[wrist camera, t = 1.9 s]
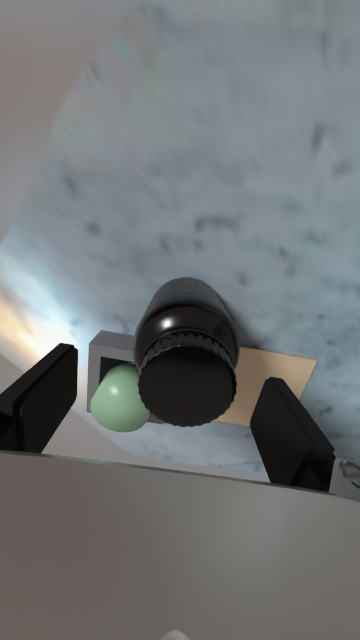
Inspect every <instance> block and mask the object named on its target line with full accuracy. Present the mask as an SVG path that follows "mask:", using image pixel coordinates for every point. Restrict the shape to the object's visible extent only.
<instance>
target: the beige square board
mask: <svg viewBox="0 0 360 640" xmlns="http://www.w3.org/2000/svg"><path fill="white" fill-rule="evenodd" d="M316 363H317V360H316V359H310V358H305V357H299V356H293V355H288V354H282V353H276V352H271V351H265V350H260V349H254V348H248V347H243V346H241V348H240V358H239V361H238V364H237V367H236V369H235V373H236V380H237V387H236V391H237V393H236V395H235V396H234V401H233V402H232V403H231V405H230V408H229V409H228V410H226V412H225V413H224V414H223V415H221V416H219V418H218V419H216V420H214V421H220V422H226V423H232V424H238V425H244V426H250V419H251V416H252V414H253V411H254V408H255V406H256V403H257V400H258V398H259V395H260V392H261V390H262V387H263V384H264V382H265V380H266V379H269V377H276V378H282V379H283V380H284V381H285V382H286V384H287V385H288V386H289V388H290V389H291V390H292V392H293V393H294V394H295V396H296V397H297V398H298V400H299V399H300V397H301V395H302V393H303V391H304V389H305V386H306V384H307V382H308V380H309V378H310V376H311V374H312V372H313V370H314V367H315V365H316Z"/></svg>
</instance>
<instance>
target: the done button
mask: <svg viewBox="0 0 360 640" xmlns="http://www.w3.org/2000/svg"><path fill="white" fill-rule="evenodd" d="M138 374H139V370H138V368H137V366H136V365H133V364H120V365H117V366H115V367H113V368H111V369H110V370H109V371H108V372H107V374H106V375H105V377H104V379H103V381H102V382H101V384H100V386H99V387H98V389H97V391H96V393H95V394H94V396H93V398H92V400H91V405H90V406H91V412H92V415H93V416H94V418H95V419H96V421H97V422H98V423H100V424H101V425H102V426H104V427H105V428H107V429H110V430H112V431H116V432H131V431H135V430H137V429H139V428H141V427H142V426H143V425H144V424H145V423H146V422H147V420H148V418H149V414H150V412H149V410H148V409H146V408H145V406H144V403H143V402H142V401H141V396H140V395H139V393H138V389H139V388H138V385H137V382H138V379H139V377H138Z"/></svg>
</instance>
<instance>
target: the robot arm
mask: <svg viewBox="0 0 360 640" xmlns="http://www.w3.org/2000/svg"><path fill="white" fill-rule="evenodd" d="M77 368H78V350H77V349H76V348H75V347H74V345H70V344H64V343H60V344H59V345H57V346H56V347H55V348H54V349H53V350H52V351H50V352H49V353H48V354H47V355H46V356H45V357H43V358H42V359H41V360H40V361H39V362H38V363H36V364H35V365H34V366H33V367H32V368H31V369H29V370H28V371H27V372H26V373H25V374H23V375H22V376H21V377H20V378H19V379H18V380H16V381H15V382H14V383H13V384H12V385H11V386H9V388H7V389H6V390H5V391H4V392H3V393H1V394H0V640H360V463H358V462H356V461H354V460H352V459H350V458H346V457H337V458H336V457H335V455H334V454H333V452H334V450H335V449H334V448H333V446H332V445H331V443H330V442H329V441H328V439H327V438H326V437H325V435H324V434H323V433H322V431H321V430H320V428H319V427H318V426H317V424H316V423H315V422H314V420H313V419H312V418H311V416H310V415H309V413H308V412H307V411H306V409H305V408H304V407H303V405H302V404H301V403H300V401H299V400H298V398H297V397H296V396H295V394H294V393H293V392H292V390H291V389H290V388H289V386H288V385H287V384H286V382H285V381H284V380H283V379H282V378H276V377H269V379H266V380H265V382H264V384H263V387H262V390H261V392H260V395H259V398H258V400H257V403H256V406H255V408H254V411H253V414H252V416H251V419H250V428H251V431H252V434H253V436H254V439H255V442H256V444H257V447H258V450H259V453H260V455H261V458H262V461H263V463H264V466H265V469H266V471H267V474H268V477H269V479H270V482H271V483H268V482H261V481H253V480H245V479H239V478H231V477H224V476H216V475H209V474H202V473H193V472H186V471H179V470H171V469H164V468H156V467H148V466H140V465H133V464H124V463H116V462H109V461H101V460H93V459H84V458H77V457H68V456H58V455H49V454H41V452H42V451H43V449H44V448H45V446H46V445H47V443H48V442H49V440H50V438H51V437H52V435H53V434H54V432H55V431H56V429H57V428H58V426H59V425H60V423H61V422H62V420H63V419H64V417H65V416H66V414H67V413H68V411H69V410H70V408H71V407H72V405H73V403H74V402H75V400H76V396H77Z"/></svg>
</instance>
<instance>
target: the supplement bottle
mask: <svg viewBox="0 0 360 640" xmlns="http://www.w3.org/2000/svg"><path fill="white" fill-rule="evenodd" d="M240 348H241V346H240V338H239V335H238V332H237V329H236V327H235V325H234V323H233V321H232V319H231V318H230V316H229V314H228V313H227V311H226V309H225V308H224V306H223V304H222V302H221V301H220V299H219V297H218V296H217V294H216V293H215V291H214V290H213V289H212V288H211V287H210V286H209V285H207V284H206V283H204V282H203V281H201V280H198V279H195V278H189V277H183V278H177V279H173V280H171V281H169V282H167V283H165V284H164V285H163V286H162V287H161V288H160V289H159V290H158V291H157V292H156V294H155V295H154V297H153V298H152V300H151V302H150V304H149V306H148V308H147V310H146V312H145V314H144V316H143V317H142V319H141V321H140V323H139V325H138V327H137V330H136V333H135V336H134V340H133V356H134V360H135V363H136V366H137V368H138V370H139V374H138V377H139V379H138V382H137V385H138V388H139V389H138V393H139V395H140V396H141V401H142V402H143V403H144V406H145V408H146V409H148V410H149V412H150V414H152V415H154V416H156V418H157V419H159V420H162V421H164V422H165V423H170V424H172V425H174V426H181V427H186V426H189V427H193V426H201V425H203V424H205V423H210V422H211V421H212V420H216V419H218V418H219V416H221V415H223V414H224V413H225V412H226V410H228V409H229V408H230V405H231V403H232V402H233V401H234V396H235V395H236V393H237V391H236V387H237V380H236V373H235V369H236V367H237V364H238V361H239V358H240Z"/></svg>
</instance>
